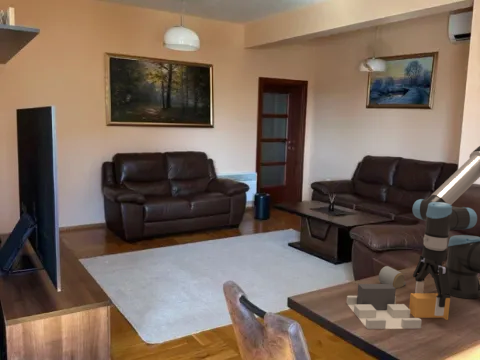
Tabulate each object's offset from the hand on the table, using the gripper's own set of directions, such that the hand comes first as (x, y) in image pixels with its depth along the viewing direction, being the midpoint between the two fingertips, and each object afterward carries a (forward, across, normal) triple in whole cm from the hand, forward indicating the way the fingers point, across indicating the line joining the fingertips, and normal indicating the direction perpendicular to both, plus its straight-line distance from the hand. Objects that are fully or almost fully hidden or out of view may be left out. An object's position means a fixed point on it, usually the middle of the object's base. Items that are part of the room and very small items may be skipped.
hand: (428, 306), depth 152 cm
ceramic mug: (+4, -30, +1) cm, 30 cm away
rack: (+4, 0, -16) cm, 17 cm away
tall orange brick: (+4, 0, 0) cm, 4 cm away
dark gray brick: (+3, -6, -16) cm, 18 cm away
